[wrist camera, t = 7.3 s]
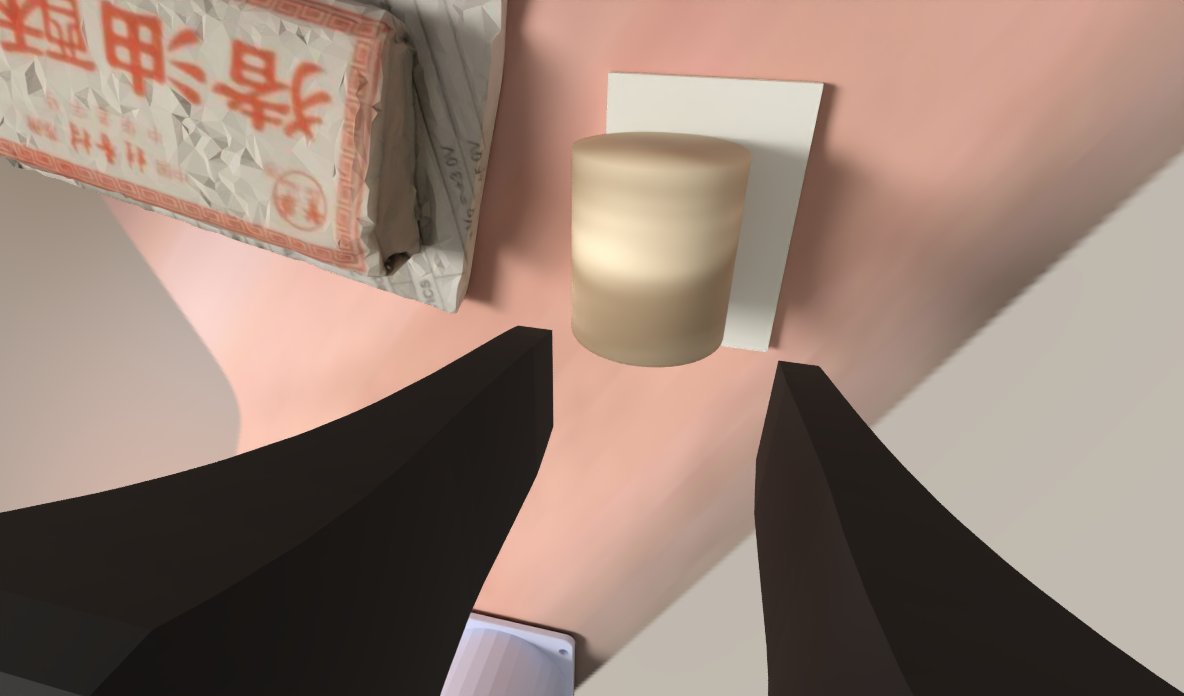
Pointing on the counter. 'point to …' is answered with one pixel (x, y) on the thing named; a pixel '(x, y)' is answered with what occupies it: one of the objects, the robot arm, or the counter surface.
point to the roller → (654, 244)
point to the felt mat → (779, 158)
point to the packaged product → (271, 122)
